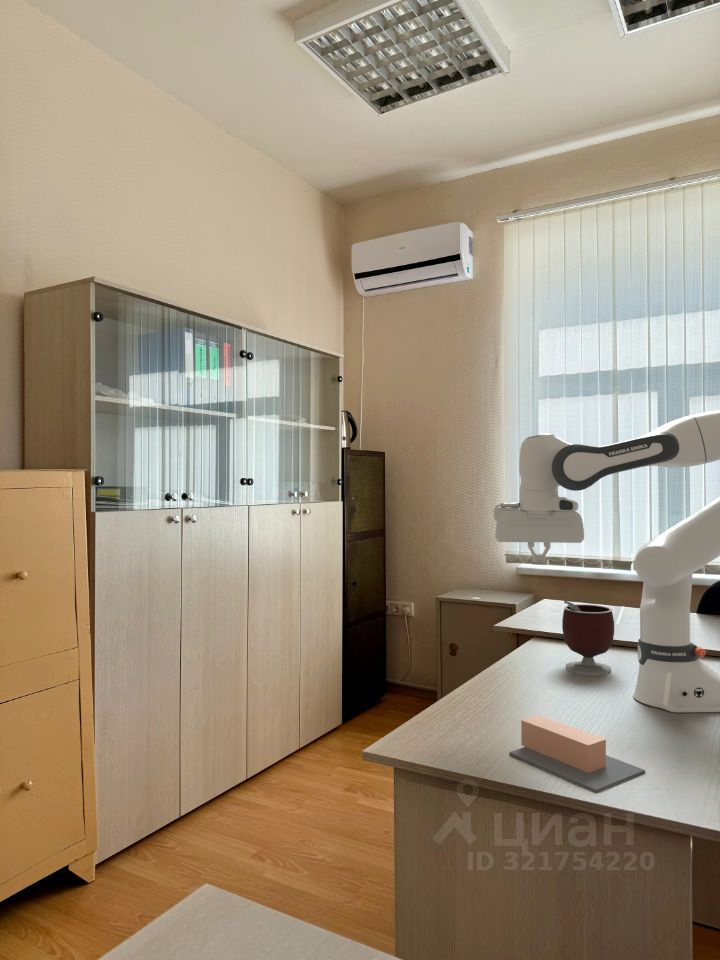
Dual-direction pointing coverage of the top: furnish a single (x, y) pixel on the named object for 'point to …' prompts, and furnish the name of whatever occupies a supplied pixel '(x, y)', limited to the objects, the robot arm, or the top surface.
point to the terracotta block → (564, 743)
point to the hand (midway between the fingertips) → (539, 561)
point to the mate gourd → (588, 636)
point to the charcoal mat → (592, 781)
